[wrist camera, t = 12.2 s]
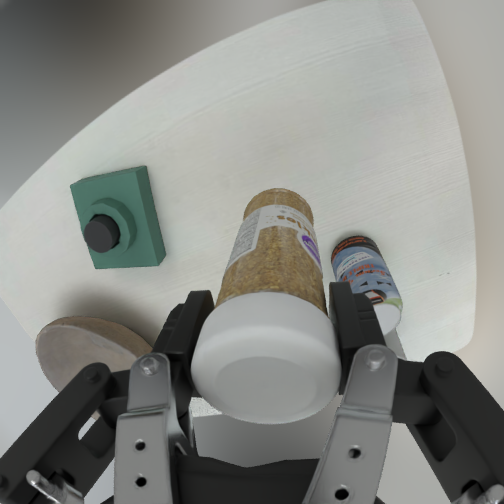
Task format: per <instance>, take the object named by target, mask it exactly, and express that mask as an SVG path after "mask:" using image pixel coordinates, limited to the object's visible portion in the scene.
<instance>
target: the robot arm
mask: <svg viewBox="0 0 504 504" xmlns="http://www.w3.org/2000/svg"><path fill="white" fill-rule="evenodd" d="M214 308H215V306H214V302H213V298H212V294H211V292H210V291H209V290H201V291H191V292H190V293H189V295H188V297H187V299H186V302H185V303H184V304H178V305H177V306H176V307H175V308H174V309H173V310H172V311H171V312H170V314H169V316H168V318H167V320H166V322H165V324H164V326H163V329H162V330H161V332H160V334H159V336H158V338H157V340H156V343H155V345H154V347H153V349H152V351H151V353H147V354H144V355H142V356H140V357H139V358H138V359H136V360H135V361H134V363H133V364H132V366H131V369H128V370H123V371H117V372H111V370H110V369H109V367H108V366H107V365H106V364H104V363H101V362H95V363H91V364H89V365H87V366H85V367H84V368H83V369H81V370H80V371H79V373H78V374H77V375H76V376H75V377H74V378H73V379H72V380H71V381H70V382H69V383H68V384H67V385H66V386H65V387H64V388H63V389H62V391H61V392H60V393H59V394H58V395H57V396H56V397H55V398H54V399H53V400H52V401H51V403H49V405H48V406H47V407H46V408H45V409H44V410H43V411H42V412H41V413H40V414H39V416H38V417H37V418H36V419H35V420H34V421H33V422H32V423H31V424H30V425H29V427H28V428H27V429H26V430H25V431H24V432H23V433H22V434H21V436H20V437H19V438H18V439H17V440H16V441H15V442H14V443H13V445H12V446H11V447H10V448H9V449H8V450H7V452H6V453H5V454H4V455H3V456H2V457H1V458H0V503H1V504H84V497H85V496H86V495H87V493H88V492H89V490H90V489H91V488H92V487H93V485H94V484H95V483H96V481H97V480H98V479H99V477H100V476H101V475H102V473H103V472H104V471H105V469H106V468H107V467H108V465H109V464H110V462H111V461H112V460H113V458H114V457H115V463H114V495H113V496H111V497H110V498H108V499H107V500H105V501H104V502H102V503H101V504H385V503H384V502H383V501H382V500H380V499H379V498H378V497H377V496H376V494H377V490H378V486H379V482H380V478H381V474H382V470H383V466H384V461H385V457H386V452H387V447H388V442H389V437H390V432H391V426H392V422H396V423H405V424H406V426H407V427H408V429H409V431H410V432H411V434H412V435H413V437H414V439H415V441H416V442H417V444H418V446H419V447H420V449H421V451H422V453H423V454H424V456H425V458H426V460H427V461H428V463H429V465H430V466H431V468H432V470H433V472H434V473H435V475H436V477H437V479H438V480H439V482H440V484H441V486H442V488H443V489H444V491H445V493H446V495H447V496H448V498H449V500H450V502H451V504H504V411H503V409H502V408H501V407H500V406H499V404H498V403H497V402H496V401H495V400H494V398H493V397H492V396H491V395H490V393H489V392H488V391H487V390H486V388H485V387H484V386H483V385H482V384H481V382H480V381H479V380H478V379H477V378H476V376H475V375H474V374H473V373H472V372H471V371H470V370H469V368H468V367H467V366H466V365H465V364H464V363H463V361H462V360H461V359H460V358H459V357H457V356H456V355H454V354H453V353H450V352H445V351H439V352H435V353H432V354H430V355H429V356H428V357H427V358H426V359H425V361H424V362H414V361H406V360H403V359H400V358H398V357H397V356H396V354H395V352H394V351H393V350H392V349H390V348H388V347H387V345H386V342H385V339H384V336H383V333H382V330H381V327H380V324H379V321H378V319H377V315H376V312H375V311H374V307H373V304H372V301H371V299H370V298H368V297H367V296H366V295H365V294H364V293H352V290H351V286H350V283H349V281H339V282H330V284H329V319H330V321H331V322H332V324H333V326H334V327H335V330H336V333H337V337H338V343H339V349H340V356H341V364H342V381H341V385H340V388H339V395H343V398H342V402H341V405H340V407H338V409H337V411H336V414H335V417H334V420H333V423H332V426H331V429H330V432H329V435H328V438H327V441H326V444H325V446H324V449H323V452H322V455H321V458H319V459H301V460H283V461H279V462H274V463H270V464H265V465H260V466H255V467H248V468H246V467H241V466H237V465H234V464H230V463H227V462H224V461H220V460H217V459H214V458H210V457H200V456H199V455H198V452H197V448H196V441H195V434H194V426H193V418H192V410H191V407H190V405H189V404H190V401H191V397H199V398H202V396H201V395H200V394H199V392H198V391H197V389H196V387H195V385H194V383H193V380H192V375H191V363H192V358H193V355H194V351H195V348H196V344H197V341H198V338H199V335H200V332H201V329H202V326H203V324H204V322H205V320H206V319H207V317H208V316H209V315H210V313H211V312H212V311H213V310H214ZM95 411H97V413H98V414H99V415H100V417H99V418H98V419H97V420H96V422H95V423H94V424H93V425H92V426H91V428H90V429H89V430H88V431H87V433H86V434H85V435H84V436H83V437H82V439H81V440H79V439H78V433H79V431H80V429H81V428H82V427H83V425H84V424H85V423H86V422H87V421H88V419H89V418H90V417H91V416H92V415H93V414H94V412H95Z"/></svg>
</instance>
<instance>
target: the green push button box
mask: <svg viewBox="0 0 504 504" xmlns="http://www.w3.org/2000/svg"><path fill="white" fill-rule="evenodd" d="M70 188H71V192H72V196H73V200H74V203H75V207H76V210H77V214H78V217H79V221H80V224H81V231H82V234H83V237H84V228H85V226H86V225H87V224H88V223H89V222H90V221H91V220H93V219H94V218H95V217H97V216H99V215H107V216H110V217H111V218H113V219H114V220H115V222H116V223H117V225H118V227H119V230H120V237H119V240H118V242H117V243H116V244H115V245H114V246H113V247H112V248H111V249H110V250H109V251H107V252H105V253H98V252H95V251H93V250H92V249H91V248H90V247H89V246H88V245H87V246H88V249H89V252H90V255H91V258H92V261H93V264H94V266H95V269H108V268H129V267H148V266H159V265H160V263H161V262H162V260H163V259H164V257H165V256H166V252H165V248H164V244H163V240H162V236H161V232H160V228H159V223H158V219H157V215H156V211H155V206H154V202H153V197H152V193H151V188H150V183H149V178H148V174H147V169H146V166H141V167H136V168H131V169H126V170H121V171H116V172H111V173H107V174H102V175H98V176H93V177H89V178H85V179H81V180H79V181H77V182H76V183H74V184H72V185H70ZM84 240H85V238H84ZM85 242H86V241H85Z"/></svg>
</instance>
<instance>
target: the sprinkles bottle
mask: <svg viewBox="0 0 504 504" xmlns="http://www.w3.org/2000/svg"><path fill="white" fill-rule="evenodd" d="M313 224H314V223H313V215H312V211H311V208H310V206H309V205H308V203H307V202H306V200H305V199H304V198H302V197H301V196H300V195H299V194H297V193H295V192H293V191H290V190H287V189H283V188H274V189H270V190H266V191H263V192H261V193H259V194H258V195H256V196H254V197H253V199H252V200H251V201H250V202H249V204H248V205H247V207H246V209H245V212H244V218H243V223H242V225H241V227H240V229H239V232H238V235H237V238H236V241H235V244H234V247H233V250H232V253H231V256H230V259H229V262H228V265H227V267H226V270H225V273H224V276H223V280H222V285H221V290H220V293H219V295H218V299H217V302H216V305H215V308H214V310H213V311H212V312H211V313H210V315H209V316H208V317H207V319H206V320H205V322H204V324H203V326H202V329H201V332H200V335H199V338H198V341H197V344H196V348H195V351H194V355H193V358H192V363H191V375H192V380H193V383H194V385H195V387H196V389H197V391H198V392H199V394H200V395H201V396H202V397H203V398H204V399H205V400H206V401H207V402H208V403H209V404H210V405H211V406H213V407H214V408H216V409H217V410H219V411H220V412H222V413H224V414H226V415H229V416H231V417H233V418H236V419H240V420H243V421H247V422H253V423H260V424H282V423H289V422H293V421H297V420H301V419H304V418H307V417H309V416H311V415H313V414H315V413H317V412H319V411H320V410H322V409H323V408H324V407H326V406H327V405H328V404H329V403H330V402H331V401H332V399H333V398H334V397H335V396H336V394H337V393H338V391H339V388H340V385H341V381H342V364H341V356H340V349H339V343H338V337H337V333H336V330H335V327H334V326H333V324H332V322H331V321H330V319H329V317H328V312H327V308H326V299H325V293H324V288H323V282H322V278H323V273H322V268H321V262H320V256H319V251H318V245H317V239H316V234H315V231H314V228H313Z"/></svg>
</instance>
